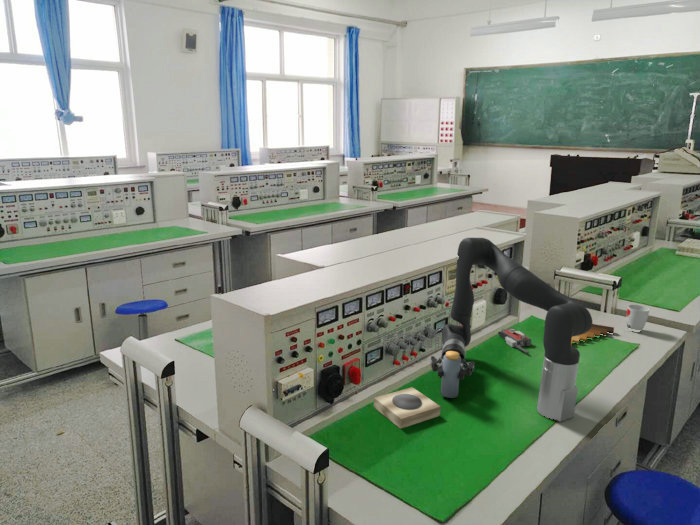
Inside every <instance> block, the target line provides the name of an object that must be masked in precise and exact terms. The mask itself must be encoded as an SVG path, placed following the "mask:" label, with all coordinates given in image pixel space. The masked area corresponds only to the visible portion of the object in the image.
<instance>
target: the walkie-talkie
mask: <svg viewBox="0 0 700 525" xmlns="http://www.w3.org/2000/svg"><path fill="white" fill-rule="evenodd" d="M497 334H498V335H499V336H500V338H502V339H503V340H505V341H506V342H505V343H506V345H508V346H510V347H511V348H516V349H518V350H519V351H521V352H523V353H526V354H527V355H529V354H530V351H528V350H527V349H525V348H523V347H530V346H531V344H532V338H530V337H528V336H526V334H525V333H523V332H522V331H520V330H516V329H515V328H512V327H511V328H503V329H501V330H500V331H498V332H497ZM522 346H523V347H522Z"/></svg>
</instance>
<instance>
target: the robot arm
mask: <svg viewBox="0 0 700 525" xmlns="http://www.w3.org/2000/svg"><path fill="white" fill-rule="evenodd" d="M457 247H458V249H457V255H458V256H459V259H458V260H457V259H456V268H455V269H456V270H455V271H456V272H455V287H454V288H455V289H454V296H453V300H452V305H451V309H450V313H449V314H450V318H451V319H452V320H453V321H455V322H457V323H459V324H461V326H460V325H456V324H452V323H447V324H445V325H443V326H444V327H443V326H442V328H443V330H442V329H441V330H442V340H441V342H442V344H443V346H442V349H441V355H440V357H439V358H436V357H435V356H433V355H432V356H430V367H431V371H432V372H437V377H438V378H440V379H442V371H443V357H444V355H446V352H447V351H455V352H458V353H459V356H460V357H461V366H460V375H459V382H461V381H462V380H464V379H465V375H466V376H468V377H471V375H472V373H473V371H474V370H475V363H476V362H475V361H474V360H471V361H467V360H466V347H467V346H469V344H470V343H471V340H472V334H471V316H472V311H473V308H474V304H475V303H474V302H475V294H474V291H473V287H472V282H471V271H472V268H473V266H478V265H481V266H485V267H487V268H488V269H490V270H491V271H493V272H494V273H495V274H496V276H497V279H498V283H499V284H500V286H501V287H502V289H503V290H504V291H506V293H509V295H511V296H512V297H513V298H514V299H517V300H518V301H519V302H522V303H525V304H528V305H530V306H533V307H536V308H538V309H542V310H544V311H546V314H545V318H544V319H545V320H544V327H543V329H544V330H543V341H542V342H543V348H544V358H543V363H542V370H541V371H542V372H541V377H540V385H539V391H538V392H539V393H538V400H537V405H536V406H537V407H536V411H537V412H538V414H540V415H541V416H542V417H544V416H545V417H544V418H547V419H549V418H550V419H549V420H553V419H554V421H557V422H563V421H566V420H570V419H572V418H573V417H574V414H575V409H576V405H577V404H576V403H577V397H578V391H579V390H578V389H579V388H578V386H577V385H576V382H577V375H578V370H579V369H578V368H579V364H580V363H579V362H580V357H581V356H580V355H581V354H580V351H579V349H578V348H576V347H574V346H573V345H572V346H571V339H572V337H573V336H578V335H581V334H584V333H586V332H588V331H589V330H590V329H591V327H592V324H593V317H592V315H591V312H590V311H589V310H588V309H587V307H585V306H584V305H583V304H581V303H580V302H578V301H577V300H575V299H573V298H571V297H570V296H567V295H566V294H564V293H561V292H560V291H559V290H557V289H556V288H554V287H553V286H551V285H550V284H548V283H547V282H545V281H544V280H543V279H541V278H539V277H538V276H537V275H536V274H534V272H531V271H530V270H529V269H528V268H526V267H524V266H523V265H521V264H520V263H518V262H517V261H515V260H514V259H512V258H511V257H509V256H508V255H507V254H505V252H504V251H502V250H501V249H500V248H499V247H498V246H497V245H495V244H494V242H493V241H491V240H490V239H488V238H485V237H466V238H465V237H464V238H463V239H462V240H461V241H460V242H459V244H458V246H457ZM457 255H456V256H457ZM438 363H439V364H438Z"/></svg>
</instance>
